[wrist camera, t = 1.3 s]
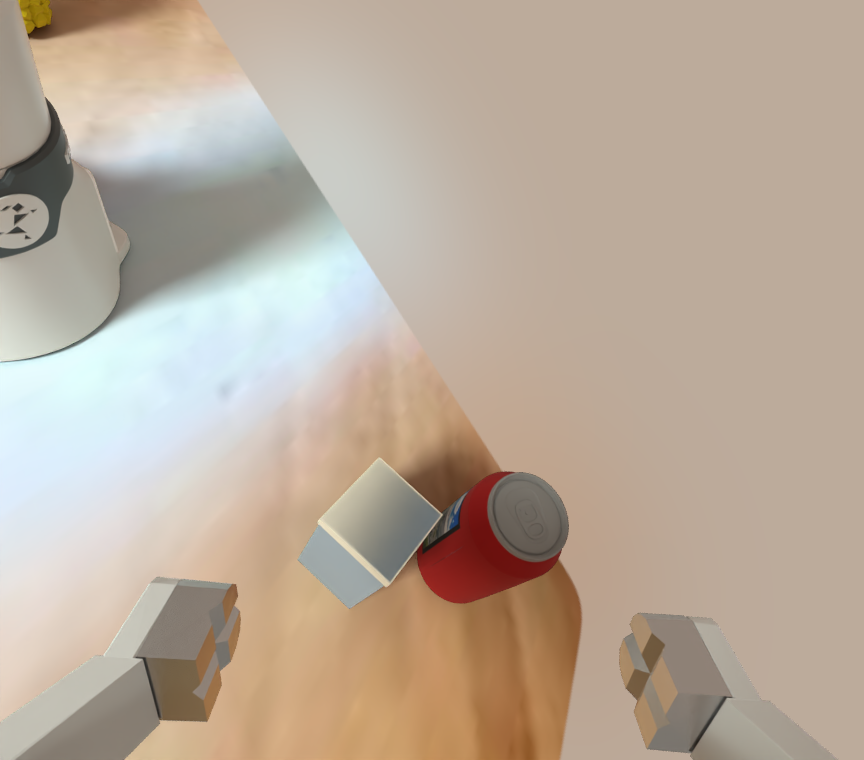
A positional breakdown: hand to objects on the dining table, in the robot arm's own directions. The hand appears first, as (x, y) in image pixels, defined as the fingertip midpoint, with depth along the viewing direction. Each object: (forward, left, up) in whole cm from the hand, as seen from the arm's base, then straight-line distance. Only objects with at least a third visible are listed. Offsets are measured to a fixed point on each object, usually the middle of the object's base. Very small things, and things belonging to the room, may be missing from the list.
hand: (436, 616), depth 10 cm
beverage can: (+5, +13, -27) cm, 30 cm away
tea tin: (-2, +8, -27) cm, 28 cm away
